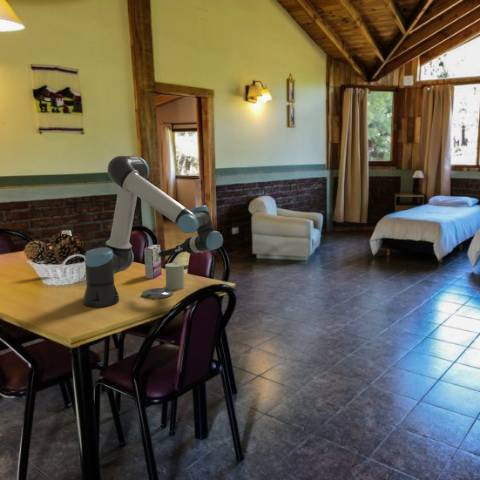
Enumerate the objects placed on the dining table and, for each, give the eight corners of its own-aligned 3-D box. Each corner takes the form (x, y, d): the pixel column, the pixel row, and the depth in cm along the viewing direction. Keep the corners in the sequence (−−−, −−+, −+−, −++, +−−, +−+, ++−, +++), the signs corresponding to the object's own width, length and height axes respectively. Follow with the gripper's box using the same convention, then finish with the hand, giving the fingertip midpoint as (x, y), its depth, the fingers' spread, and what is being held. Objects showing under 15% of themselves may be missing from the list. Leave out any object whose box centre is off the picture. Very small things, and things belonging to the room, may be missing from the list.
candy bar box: (153, 273, 258) (152, 244, 256) (161, 274, 257) (160, 244, 255) (144, 278, 248) (143, 248, 245) (153, 279, 247) (152, 248, 244)
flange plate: (152, 300, 208) (152, 297, 208) (136, 294, 218) (136, 291, 218) (178, 294, 217) (178, 292, 217) (162, 288, 227) (162, 286, 227)
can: (186, 285, 234) (185, 262, 232) (182, 290, 225) (181, 266, 223) (168, 284, 235) (167, 261, 233) (163, 289, 226) (162, 265, 224)
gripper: (176, 260, 200) (149, 266, 215) (217, 245, 217) (190, 251, 233) (171, 244, 199) (144, 250, 215) (212, 229, 217) (185, 236, 232)
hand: (168, 251), depth 224 cm, fingers open, 13 cm apart
